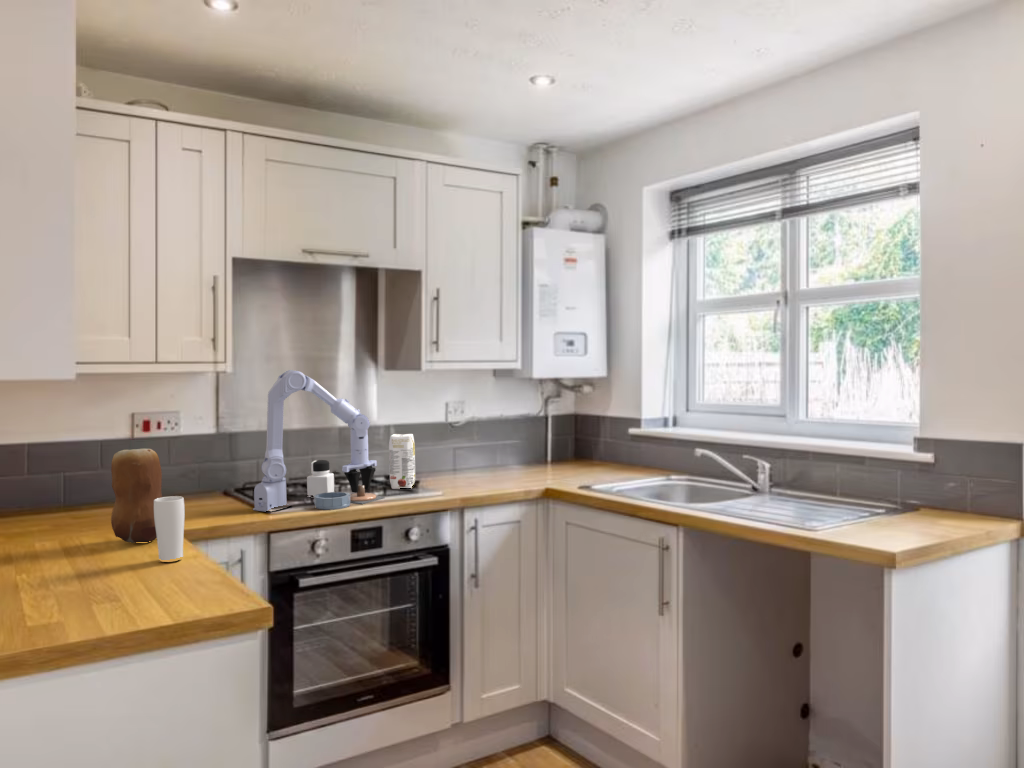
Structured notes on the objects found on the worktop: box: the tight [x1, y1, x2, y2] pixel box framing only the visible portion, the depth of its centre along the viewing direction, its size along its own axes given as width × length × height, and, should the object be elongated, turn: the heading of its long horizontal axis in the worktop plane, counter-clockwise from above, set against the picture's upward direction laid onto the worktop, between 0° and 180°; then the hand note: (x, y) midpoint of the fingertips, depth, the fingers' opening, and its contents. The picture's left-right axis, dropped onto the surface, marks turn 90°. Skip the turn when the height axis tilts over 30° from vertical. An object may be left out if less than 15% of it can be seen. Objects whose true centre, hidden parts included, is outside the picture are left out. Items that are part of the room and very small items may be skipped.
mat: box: [350, 495, 386, 505], centre depth 257 cm, size 11×11×1 cm
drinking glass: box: [154, 495, 186, 560], centre depth 186 cm, size 7×7×15 cm
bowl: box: [313, 491, 351, 511], centre depth 247 cm, size 11×11×4 cm
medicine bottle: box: [306, 459, 335, 496], centre depth 265 cm, size 7×7×12 cm
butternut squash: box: [110, 448, 163, 544], centre depth 204 cm, size 14×13×25 cm
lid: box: [349, 484, 377, 501], centre depth 257 cm, size 10×10×4 cm
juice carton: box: [388, 433, 416, 490], centre depth 277 cm, size 8×9×19 cm
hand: (360, 490), depth 257 cm, fingers open, 5 cm apart
